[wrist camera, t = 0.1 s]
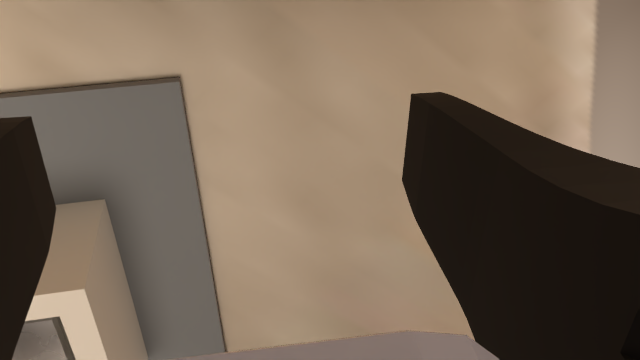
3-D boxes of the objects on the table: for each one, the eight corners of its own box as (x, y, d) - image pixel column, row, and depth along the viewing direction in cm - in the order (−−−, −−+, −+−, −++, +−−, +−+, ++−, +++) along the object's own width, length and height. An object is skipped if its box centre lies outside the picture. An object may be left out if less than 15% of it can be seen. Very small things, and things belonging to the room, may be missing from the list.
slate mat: (233, 399, 31) (233, 405, 31) (-98, 452, 29) (-101, 460, 29) (179, 77, 21) (179, 81, 21) (-328, 123, 19) (-337, 129, 19)
